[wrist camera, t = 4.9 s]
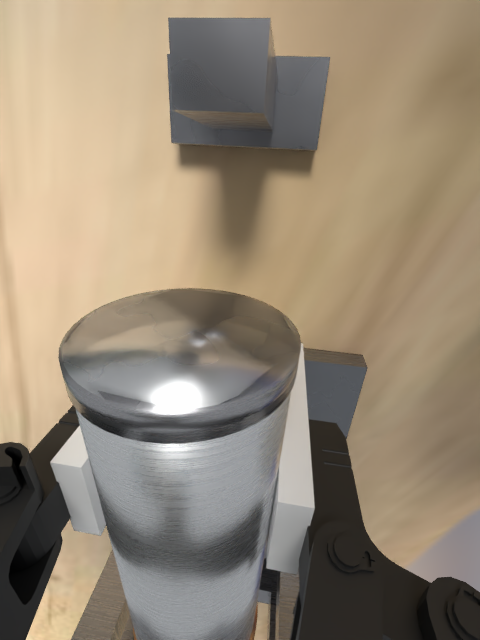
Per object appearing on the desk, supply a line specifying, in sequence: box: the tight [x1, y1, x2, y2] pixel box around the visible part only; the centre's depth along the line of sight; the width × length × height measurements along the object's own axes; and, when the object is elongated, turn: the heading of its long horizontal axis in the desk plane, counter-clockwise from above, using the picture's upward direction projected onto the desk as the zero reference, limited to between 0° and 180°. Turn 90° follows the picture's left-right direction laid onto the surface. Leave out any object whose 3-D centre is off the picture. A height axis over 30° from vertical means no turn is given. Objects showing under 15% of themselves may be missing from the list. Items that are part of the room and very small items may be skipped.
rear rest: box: [167, 18, 330, 151], centre depth 8 cm, size 2×5×5 cm, turn 87°
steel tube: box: [59, 288, 301, 640], centre depth 10 cm, size 18×5×5 cm, turn 177°
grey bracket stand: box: [71, 348, 367, 640], centre depth 13 cm, size 16×12×13 cm
